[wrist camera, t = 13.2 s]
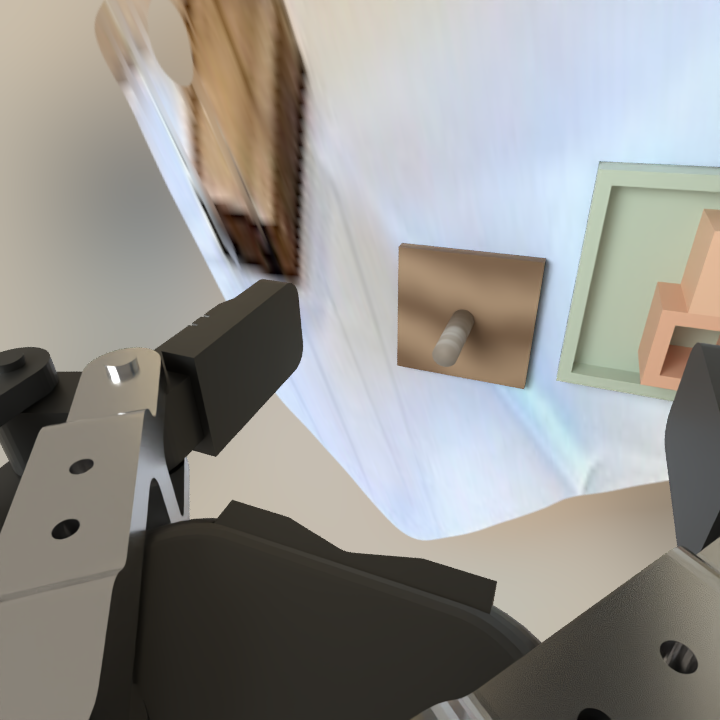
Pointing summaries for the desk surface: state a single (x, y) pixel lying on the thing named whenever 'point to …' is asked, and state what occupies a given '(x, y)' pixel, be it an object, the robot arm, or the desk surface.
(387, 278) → the desk surface
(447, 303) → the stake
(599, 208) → the tray
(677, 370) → the orange block with hole
